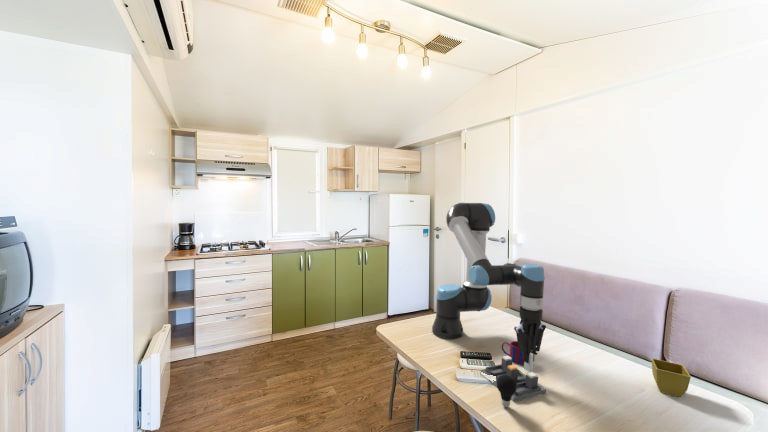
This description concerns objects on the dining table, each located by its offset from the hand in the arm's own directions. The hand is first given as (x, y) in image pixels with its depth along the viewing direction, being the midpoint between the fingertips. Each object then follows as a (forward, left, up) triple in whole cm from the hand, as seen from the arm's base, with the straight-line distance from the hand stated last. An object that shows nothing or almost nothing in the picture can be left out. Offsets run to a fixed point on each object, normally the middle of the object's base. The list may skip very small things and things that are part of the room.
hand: (528, 370), depth 113 cm
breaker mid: (0, -7, -2) cm, 8 cm away
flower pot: (+21, +42, -4) cm, 47 cm away
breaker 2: (+6, -5, -2) cm, 8 cm away
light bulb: (+10, -19, -4) cm, 21 cm away
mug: (-14, +6, -4) cm, 15 cm away
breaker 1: (-6, -4, -2) cm, 8 cm away
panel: (0, -7, -4) cm, 8 cm away
